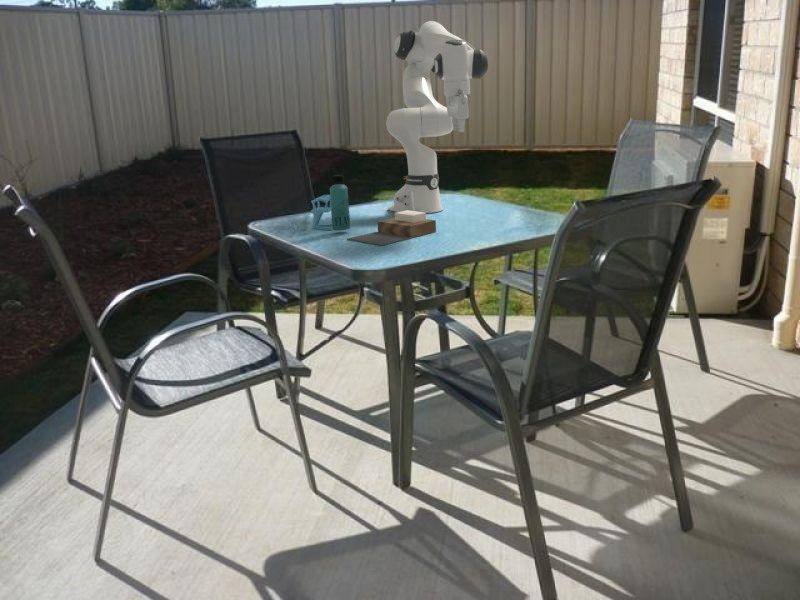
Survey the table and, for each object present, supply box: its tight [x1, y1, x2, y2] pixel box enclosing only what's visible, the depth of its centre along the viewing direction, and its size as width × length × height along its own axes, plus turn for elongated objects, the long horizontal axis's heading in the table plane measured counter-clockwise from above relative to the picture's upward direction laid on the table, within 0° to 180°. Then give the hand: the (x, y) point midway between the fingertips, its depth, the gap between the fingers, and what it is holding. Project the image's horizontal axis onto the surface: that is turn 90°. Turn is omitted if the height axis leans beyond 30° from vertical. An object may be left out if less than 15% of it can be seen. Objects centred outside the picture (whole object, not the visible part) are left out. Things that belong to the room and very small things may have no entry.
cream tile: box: [394, 210, 427, 223], centre depth 280 cm, size 9×6×2 cm, turn 44°
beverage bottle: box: [329, 174, 351, 231], centre depth 283 cm, size 6×7×20 cm
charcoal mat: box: [346, 231, 412, 247], centre depth 272 cm, size 17×13×1 cm
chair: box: [310, 194, 334, 231], centre depth 293 cm, size 8×8×12 cm
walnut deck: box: [376, 216, 437, 239], centre depth 280 cm, size 16×12×4 cm
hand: (458, 131), depth 284 cm, fingers open, 8 cm apart
